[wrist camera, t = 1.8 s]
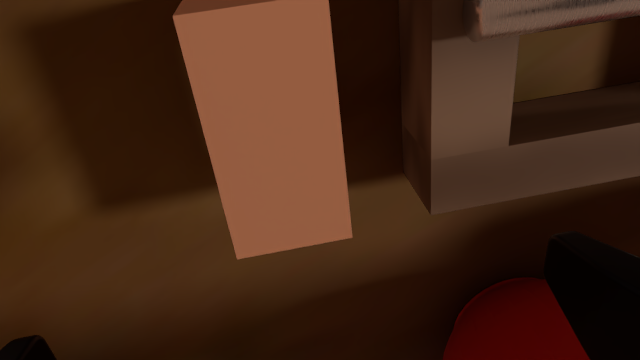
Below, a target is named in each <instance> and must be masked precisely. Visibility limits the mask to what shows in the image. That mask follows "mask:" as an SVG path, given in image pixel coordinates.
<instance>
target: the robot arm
mask: <svg viewBox="0 0 640 360" xmlns="http://www.w3.org/2000/svg"><path fill="white" fill-rule="evenodd" d="M544 276H545V279H546V282H547V284H548V286H549V287H550V289H551V291H552V293H553V295H554V297H555V298H556V300H557V302H558V304H559V306H560V307H561V309H562V311H563V313H564V315H565V317H566V318H567V320H568V322H569V324H570V326H571V328H572V329H573V331H574V333H575V335H576V337H577V338H578V340H579V342H580V344H581V346H582V347H583V349H584V351H585V352H586V354H587V356H588V357H589V359H590V360H640V258H639V257H637V256H635V255H632V254H630V253H627V252H625V251H622V250H620V249H618V248H615V247H613V246H610V245H608V244H605V243H603V242H600V241H598V240H596V239H593V238H591V237H588V236H586V235H583V234H581V233H578V232H576V231H568V232H563V233H558V234H554V235H552V236H551V237H550V238H549V241H548V246H547V252H546V258H545V264H544ZM0 360H57V359H56V358H55V356H54V354H53V353H52V351H51V349H50V348H49V346H48V344H47V343H46V341H45V340H44V338H43V337H41V336H39V335H33V336H28V337H23V338H18V339H15V340H12V341H11V342H9V343H8V344H7V345H6V346H5V347H4V348H2V349H1V350H0Z"/></svg>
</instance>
